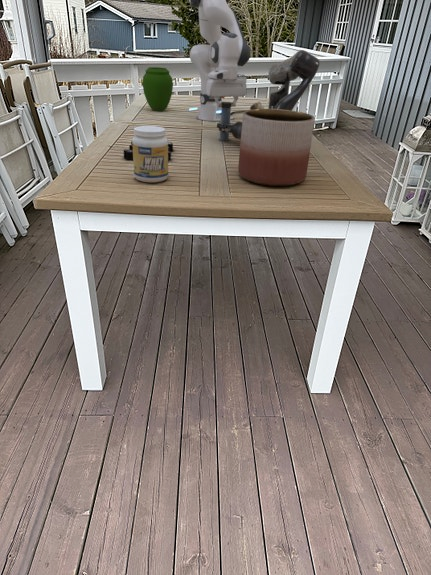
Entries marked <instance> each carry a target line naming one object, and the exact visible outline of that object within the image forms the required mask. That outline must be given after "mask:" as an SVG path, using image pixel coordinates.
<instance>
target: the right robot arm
mask: <svg viewBox="0 0 431 575" xmlns="http://www.w3.org/2000/svg"><path fill="white" fill-rule="evenodd" d="M320 66H321V60H320V59H319V58H318V57H316V56H314V55H312V54H311V53H309V52H308V51H307V50H304V49H299V50H298V51H296V53H294V54H293V55H292V56H291V57H289V58H287V59H284V60H282V61H281V62H279V63H274V64H272V65H271V66H270V68H269V69H268V70H269V71H268V81H269V83H270V84H271V85H279V86H280V88H278V89H277V90H274V91H271V92H270V93H269V99H268V108H267V109H282V110H291V111H294V110H293V109H294V108H295V107H296V105H297V104H298V102H299V100H300V99H301V97H302V96H303V95H304V93H305V92H306V90H307V88H308V87H309V85H310V84H311V82H312V81H313V79H314V78H315V76H316V75H317V73H318V70H319V69H320ZM298 78H299V79H301V82H300V83H299V84H298V86H297V87H296V88H295V89H294V90H292V91H291V92H289V90H290V85H291V82H293V81H295V80H297V79H298ZM227 126H228V127H227ZM216 128H217V129H218V131H219V132H220V131H221V132H223V133H225V132H229V134H232V136H233V138H235V139H237V140H240V141H241V132H242V121H236V122H230V124H225V125H224V124H221V122H217V123H216Z"/></svg>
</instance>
